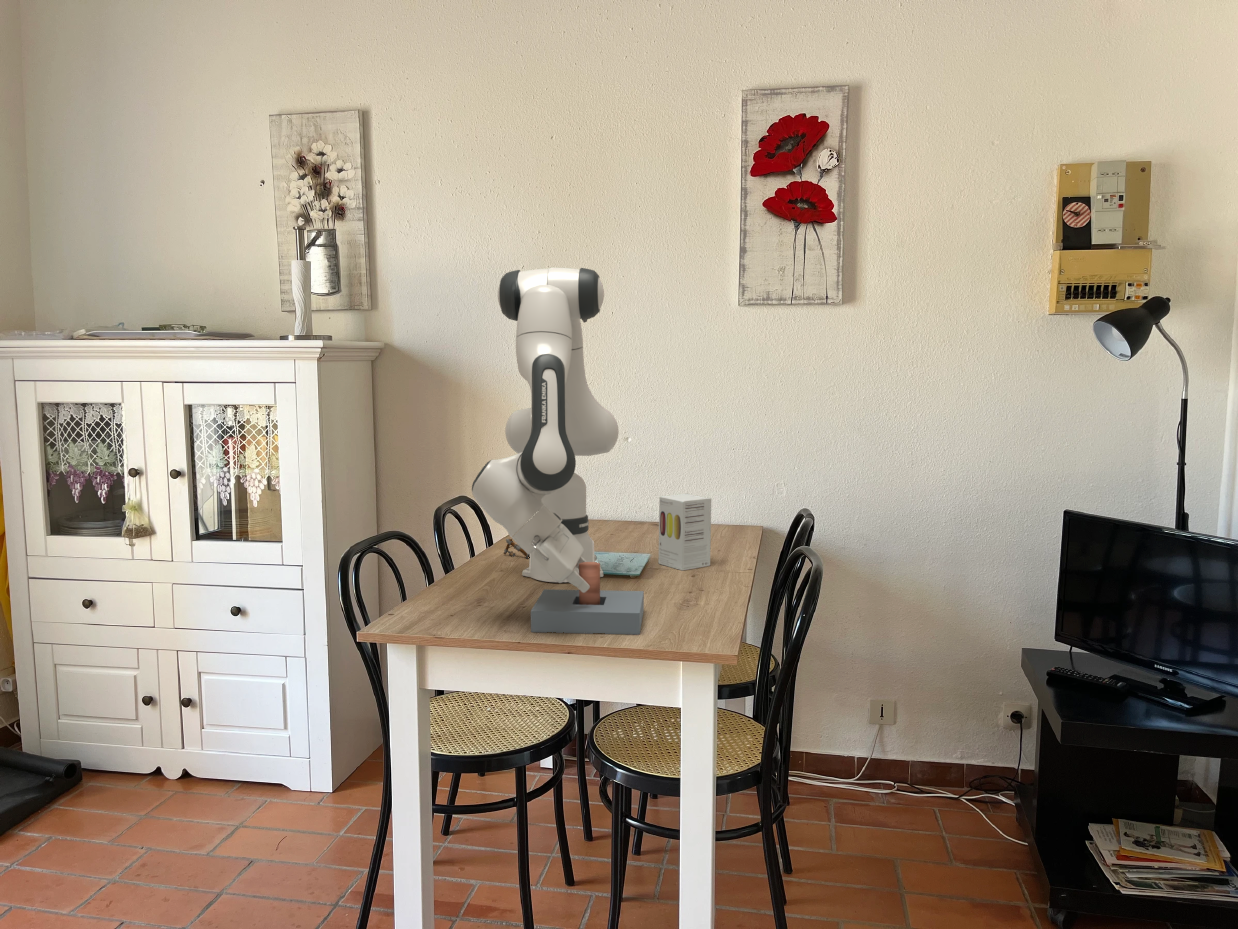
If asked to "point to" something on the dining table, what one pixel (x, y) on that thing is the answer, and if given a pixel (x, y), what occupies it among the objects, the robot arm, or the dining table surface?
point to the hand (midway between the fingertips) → (590, 583)
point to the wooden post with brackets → (514, 548)
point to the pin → (590, 583)
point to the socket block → (588, 612)
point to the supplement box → (684, 531)
